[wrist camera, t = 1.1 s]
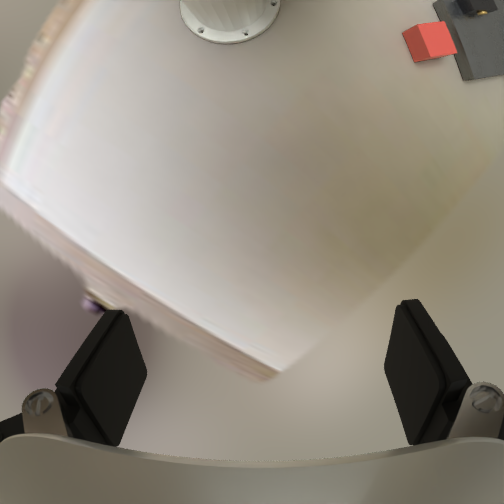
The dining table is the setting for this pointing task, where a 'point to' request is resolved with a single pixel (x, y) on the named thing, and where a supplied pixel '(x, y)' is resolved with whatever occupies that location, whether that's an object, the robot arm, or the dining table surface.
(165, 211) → the dining table surface
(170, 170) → the dining table surface
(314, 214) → the dining table surface
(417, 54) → the red block
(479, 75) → the panel
